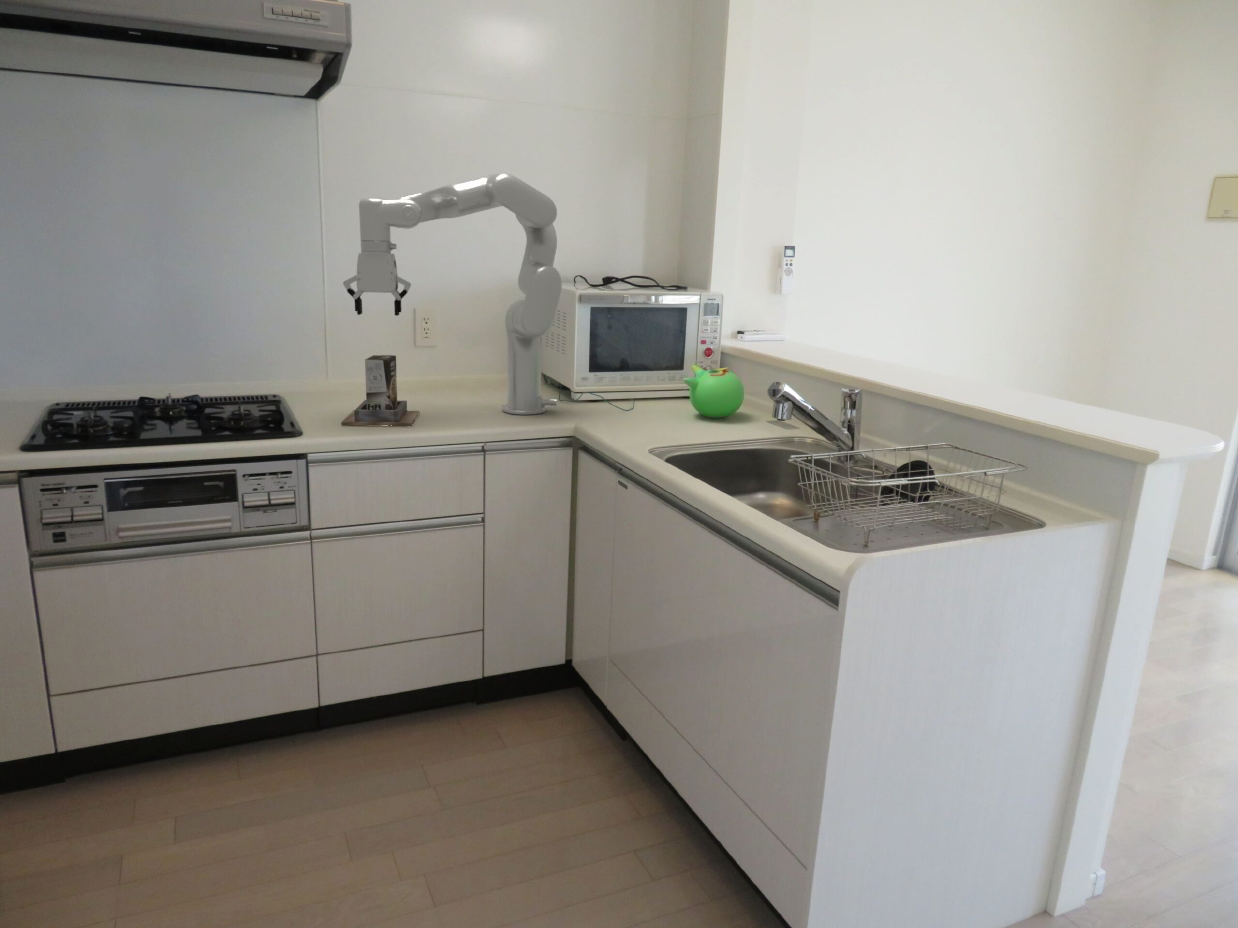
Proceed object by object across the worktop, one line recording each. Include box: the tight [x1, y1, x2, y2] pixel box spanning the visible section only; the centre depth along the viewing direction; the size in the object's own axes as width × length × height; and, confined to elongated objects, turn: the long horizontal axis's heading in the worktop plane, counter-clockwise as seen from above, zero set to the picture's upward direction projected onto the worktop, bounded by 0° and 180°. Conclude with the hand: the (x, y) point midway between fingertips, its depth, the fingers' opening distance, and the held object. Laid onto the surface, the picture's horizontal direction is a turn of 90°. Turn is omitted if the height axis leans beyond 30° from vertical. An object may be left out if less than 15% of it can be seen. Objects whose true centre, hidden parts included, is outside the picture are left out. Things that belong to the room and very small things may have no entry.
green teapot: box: [682, 364, 745, 419], centre depth 260 cm, size 18×17×15 cm
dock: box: [340, 399, 421, 427], centre depth 243 cm, size 18×16×4 cm
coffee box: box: [364, 354, 398, 410], centre depth 242 cm, size 9×6×16 cm
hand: (378, 314), depth 237 cm, fingers open, 9 cm apart
